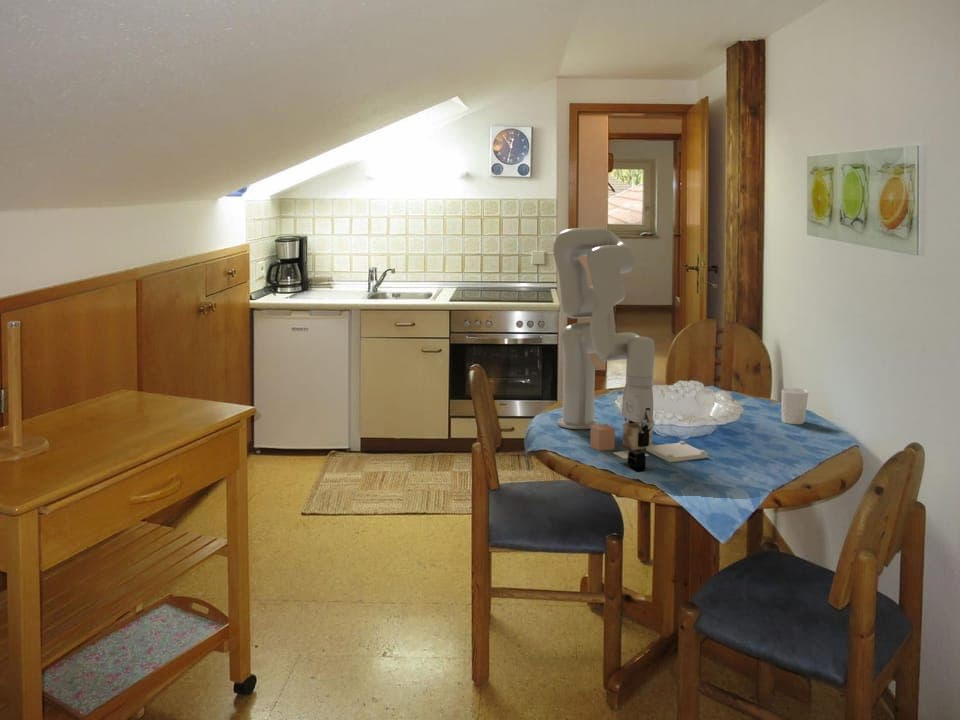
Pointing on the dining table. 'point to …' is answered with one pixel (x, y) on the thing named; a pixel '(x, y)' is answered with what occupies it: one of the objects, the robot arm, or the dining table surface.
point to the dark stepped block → (636, 461)
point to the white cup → (794, 405)
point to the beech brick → (633, 435)
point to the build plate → (676, 451)
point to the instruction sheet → (624, 454)
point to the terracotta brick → (602, 437)
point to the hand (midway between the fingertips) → (637, 442)
